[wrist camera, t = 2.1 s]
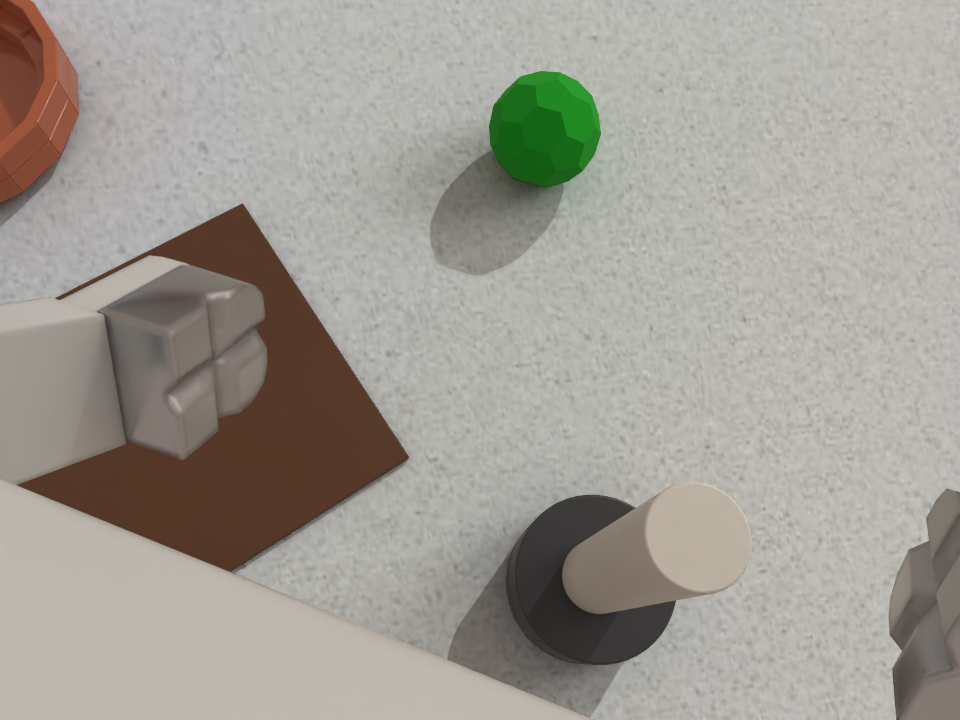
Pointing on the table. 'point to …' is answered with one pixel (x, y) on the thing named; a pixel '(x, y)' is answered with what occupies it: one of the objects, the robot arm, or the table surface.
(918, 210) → the table surface
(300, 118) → the table surface
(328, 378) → the board
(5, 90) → the dish
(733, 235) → the table surface
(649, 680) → the table surface
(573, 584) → the brush
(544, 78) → the polyhedron
